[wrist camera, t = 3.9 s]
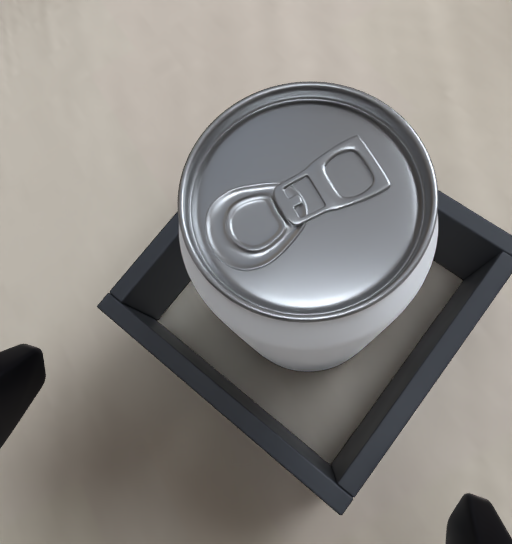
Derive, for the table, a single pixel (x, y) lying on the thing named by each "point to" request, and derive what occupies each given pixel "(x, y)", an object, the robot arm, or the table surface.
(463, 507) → the robot arm
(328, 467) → the bin
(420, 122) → the table surface
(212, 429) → the table surface
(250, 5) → the table surface
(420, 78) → the table surface
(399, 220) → the can
